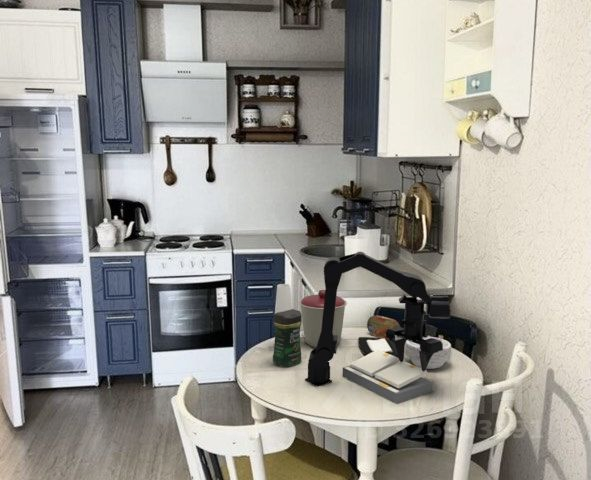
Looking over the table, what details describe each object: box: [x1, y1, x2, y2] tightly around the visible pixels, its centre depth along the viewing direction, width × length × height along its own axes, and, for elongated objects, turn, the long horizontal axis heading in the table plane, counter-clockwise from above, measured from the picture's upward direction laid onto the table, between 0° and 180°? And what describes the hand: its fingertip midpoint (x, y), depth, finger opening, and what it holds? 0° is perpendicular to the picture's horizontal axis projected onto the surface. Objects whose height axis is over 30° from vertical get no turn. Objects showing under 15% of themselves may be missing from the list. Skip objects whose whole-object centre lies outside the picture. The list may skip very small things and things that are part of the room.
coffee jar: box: [272, 308, 303, 368], centre depth 189 cm, size 10×8×19 cm
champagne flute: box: [274, 283, 293, 315], centre depth 203 cm, size 7×7×24 cm
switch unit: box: [342, 364, 434, 405], centre depth 172 cm, size 15×24×4 cm, turn 35°
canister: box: [298, 289, 348, 348], centre depth 208 cm, size 18×18×21 cm
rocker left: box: [350, 349, 400, 377], centre depth 177 cm, size 12×10×1 cm
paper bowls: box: [404, 336, 452, 370], centre depth 189 cm, size 15×15×8 cm
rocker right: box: [375, 360, 428, 388], centre depth 167 cm, size 12×10×1 cm
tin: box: [366, 315, 401, 339], centre depth 217 cm, size 15×3×8 cm, turn 42°
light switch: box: [357, 336, 398, 358], centre depth 204 cm, size 20×3×14 cm
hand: (412, 366), depth 170 cm, fingers open, 9 cm apart
